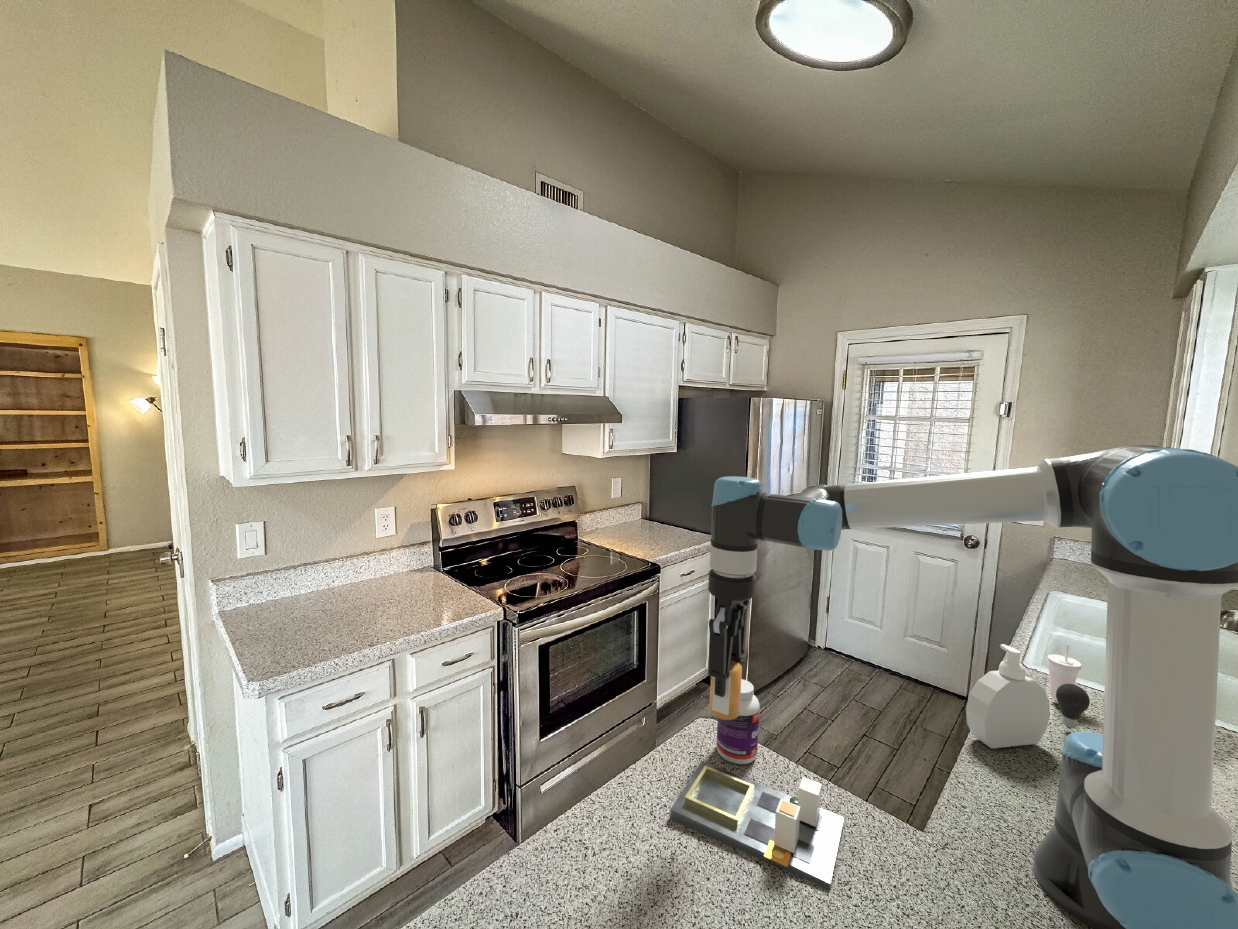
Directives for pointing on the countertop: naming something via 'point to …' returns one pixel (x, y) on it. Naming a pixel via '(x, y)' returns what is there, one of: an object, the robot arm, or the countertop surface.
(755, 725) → the pill bottle
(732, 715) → the cap
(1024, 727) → the soap bottle
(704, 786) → the breaker panel
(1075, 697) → the light bulb
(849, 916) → the countertop surface
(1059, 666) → the smoothie
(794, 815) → the block
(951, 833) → the countertop surface
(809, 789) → the breaker
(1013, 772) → the countertop surface
